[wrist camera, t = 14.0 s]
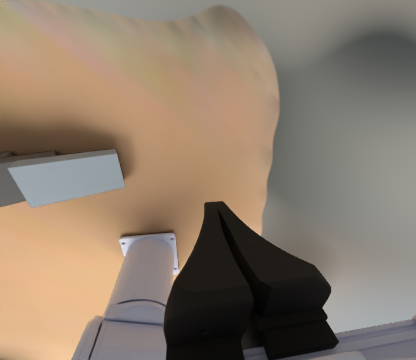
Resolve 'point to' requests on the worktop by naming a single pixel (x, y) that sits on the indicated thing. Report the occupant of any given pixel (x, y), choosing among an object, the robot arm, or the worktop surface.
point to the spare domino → (67, 176)
